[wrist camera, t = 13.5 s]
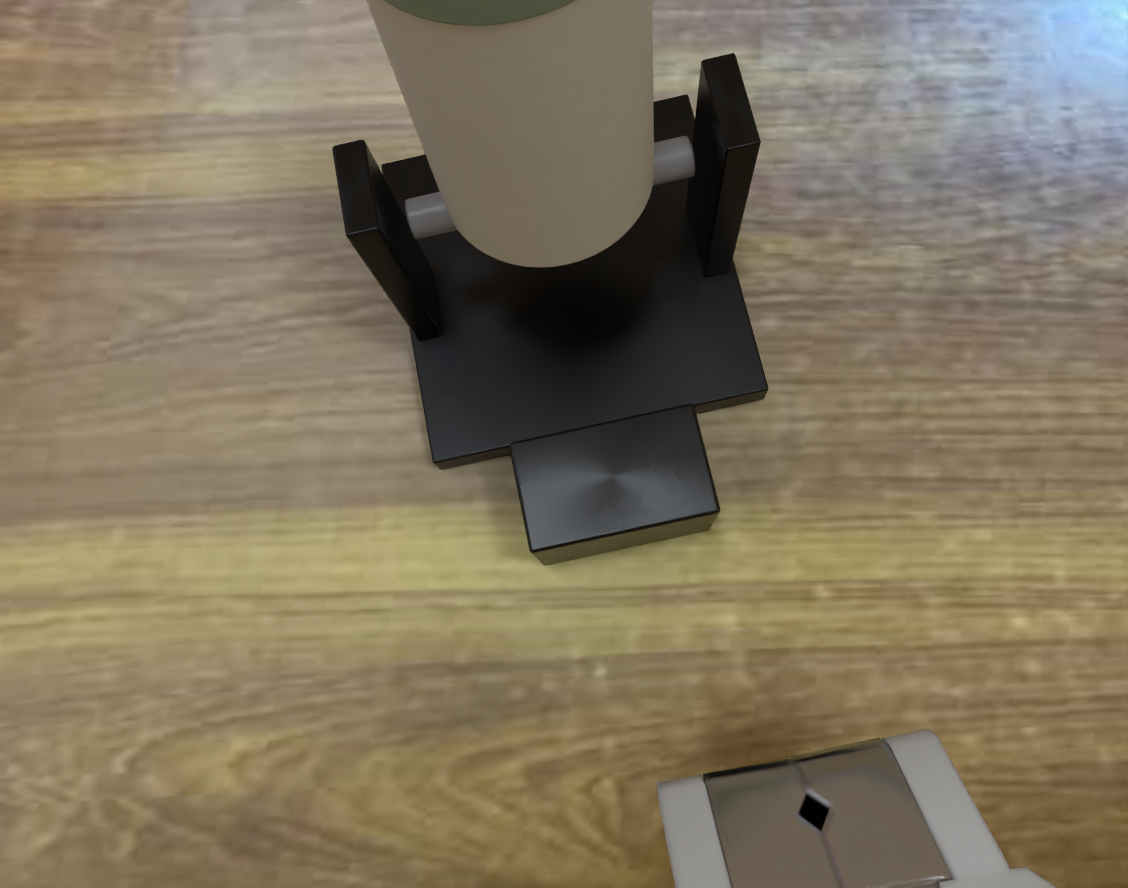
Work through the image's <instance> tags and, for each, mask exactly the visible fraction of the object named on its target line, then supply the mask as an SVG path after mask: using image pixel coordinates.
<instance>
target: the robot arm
mask: <svg viewBox="0 0 1128 888" xmlns="http://www.w3.org/2000/svg"><path fill="white" fill-rule="evenodd" d="M657 791H658V801H659V806H660V811H661V816H662V821H663V826H664V831H665V836H666V842H667V847H668V852H669V857H670V862H671V867H672V872H673V877H674V882H675V887H676V888H1057V887H1055V886H1054V885H1052V884H1051V883H1049V882H1048V881H1046V880H1045V879H1044V878H1042V877H1041V876H1039V875H1038V874H1036V873H1035V872H1033V871H1032V870H1030V869H1029V868H1028V867H1026V866H1023V867H1017V868H1010V866H1009V864H1008V863H1007V861H1006V859H1005V857H1004V855H1003V854H1002V852H1001V850H1000V848H999V846H998V845H997V843H996V841H995V839H994V837H993V835H992V834H991V832H990V830H989V828H988V826H987V825H986V823H985V821H984V819H983V817H982V816H981V814H980V812H979V810H978V808H977V806H976V805H975V803H974V801H973V799H972V797H971V796H970V794H969V792H968V790H967V788H966V787H965V785H964V783H963V781H962V779H961V777H960V776H959V774H958V772H957V770H956V768H955V767H954V765H953V763H952V761H951V759H950V758H949V756H948V754H947V752H946V750H945V748H944V747H943V745H942V743H941V741H940V739H939V738H938V736H937V735H935V734H934V733H933V732H932V731H931V730H930V729H923V730H919V731H914V732H910V733H905V734H901V735H896V736H891V737H887V738H883V739H880V738H874V739H870V740H865V741H861V742H856V743H851V744H847V745H842V746H837V747H833V748H828V749H824V750H819V751H814V752H810V753H805V754H801V755H796V756H791V759H785V760H779V761H774V762H768V763H762V764H757V765H751V766H745V767H740V768H734V769H728V770H723V771H717V772H711V773H706V774H703V777H702V774H699V775H694V776H689V777H684V778H679V779H673V780H668V781H663V782H658V783H657Z"/></svg>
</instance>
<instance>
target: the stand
mask: <svg viewBox="0 0 1128 888" xmlns="http://www.w3.org/2000/svg"><path fill="white" fill-rule="evenodd" d="M653 114H654V143H655V142H660V141H664V140H668V139H673V138H677V137H682V136H688V137H689V139H690V141H691V144H692V148H693V152H694V158H695V175H694V176H693V177H689V178H685V179H681V180H676V181H672V182H667V183H663V184H659V185H654V186H652V190H651V193H650V197H649V199H648V202H647V204H646V206H645V208H644V210H643V212H642V213H641V215H640V216H639V218H638V220H637V221H636V222H635V223H634V224H633V226H632V227H631V228H630V229H629V230H628V231H627V232H626V233H625V234H624V235H623V236H622V237H621V238H620V239H619V240H618V241H616V242H615V243H613V244H612V245H611V246H609V247H608V248H606V249H605V250H603V251H601V252H599V253H597V254H596V255H594V256H591V257H589V258H586V259H584V260H581V261H578V262H574V263H571V264H567V265H561V266H555V267H525V266H519V265H514V264H510V263H507V262H504V261H500V260H498V259H496V258H493V257H491V256H489V255H487V254H485V253H484V252H482V251H481V250H479V249H477V248H476V247H474V246H473V245H472V244H471V243H470V242H469V241H467V240H466V239H465V238H464V237H463V235H462V234H461V233H460V232H459V231H458V230H456V231H452V232H447V233H443V234H439V235H434V236H430V237H425V238H421V239H415V238H414V236H413V235H412V233H411V230H410V227H409V224H408V220H407V216H406V210H405V201H406V200H407V199H410V198H415V197H419V196H423V195H428V194H432V193H437V192H440V191H439V188H438V186H437V183H436V180H435V178H434V175H433V172H432V170H431V167H430V165H429V162H428V159H427V157H426V154H425V155H421V156H417V157H412V158H408V159H404V160H399V161H395V162H391V163H386V164H382V166H381V167H382V173H383V175H382V173H381V171H380V169H379V167H378V165H377V163H376V161H375V159H374V158H373V156H372V154H371V152H370V150H369V148H368V146H367V144H366V142H365V141H364V140H358V141H354V142H349V143H345V144H341V145H336V146H334V147H333V149H332V151H333V157H334V163H335V170H336V176H337V182H338V188H339V195H340V201H341V207H342V213H343V219H344V226H345V232H346V236H347V238H348V239H349V241H350V242H351V243H352V245H353V246H354V248H355V249H356V251H357V252H358V254H359V255H360V257H361V258H362V259H363V261H364V262H365V264H366V265H367V267H368V268H369V270H370V271H371V272H372V274H373V275H374V277H375V278H376V280H377V281H378V283H379V284H380V285H381V287H382V288H383V290H384V291H385V293H386V294H387V296H388V297H389V298H390V300H391V301H392V303H393V304H394V306H395V307H396V309H397V310H398V311H399V313H400V314H401V316H402V317H403V319H404V320H405V322H406V323H407V325H408V326H409V328H410V334H411V339H412V345H413V351H414V357H415V362H416V368H417V374H418V379H419V385H420V391H421V397H422V402H423V408H424V414H425V420H426V425H427V431H428V437H429V443H430V448H431V454H432V460H433V463H434V464H435V465H436V466H437V467H438V468H439V469H446V468H450V467H455V466H459V465H464V464H468V463H473V462H477V461H482V460H487V459H491V458H496V457H500V456H505V455H509V454H511V459H512V464H513V469H514V474H515V479H516V484H517V489H518V494H519V499H520V505H521V510H522V515H523V520H524V525H525V530H526V535H527V540H528V545H529V550H530V552H531V553H532V554H533V555H534V556H535V557H536V558H537V559H538V560H539V561H540V562H541V563H542V564H543V565H550V564H555V563H559V562H564V561H569V560H573V559H578V558H583V557H587V556H592V555H596V554H601V553H606V552H610V551H615V550H620V549H624V548H629V547H634V546H638V545H643V544H647V543H652V542H657V541H661V540H666V539H671V538H675V537H680V536H685V535H689V534H694V533H698V532H703V531H708V530H709V529H710V528H711V526H712V524H713V523H714V521H715V519H716V517H717V516H718V514H719V512H720V507H719V503H718V499H717V495H716V491H715V487H714V483H713V479H712V475H711V471H710V467H709V463H708V459H707V455H706V451H705V447H704V443H703V439H702V435H701V431H700V427H699V423H698V419H697V415H696V413H701V412H705V411H710V410H714V409H719V408H723V407H728V406H732V405H737V404H742V403H746V402H751V401H755V400H760V399H763V398H764V397H765V395H766V393H767V391H768V385H767V381H766V378H765V374H764V370H763V367H762V363H761V359H760V356H759V352H758V349H757V345H756V341H755V338H754V334H753V330H752V327H751V323H750V319H749V316H748V312H747V308H746V305H745V301H744V297H743V294H742V290H741V286H740V283H739V279H738V276H737V272H736V268H735V265H734V261H733V255H734V251H735V247H736V243H737V238H738V234H739V230H740V226H741V222H742V218H743V213H744V209H745V205H746V201H747V197H748V193H749V189H750V184H751V180H752V176H753V172H754V168H755V164H756V160H757V155H758V151H759V147H760V143H761V141H760V138H759V134H758V131H757V127H756V124H755V121H754V117H753V114H752V110H751V107H750V103H749V100H748V97H747V93H746V90H745V86H744V83H743V80H742V76H741V73H740V69H739V66H738V62H737V59H736V56H735V54H734V53H732V54H728V55H723V56H719V57H715V58H710V59H706V60H703V61H702V62H701V71H700V80H699V89H698V98H697V108H696V117H695V119H694V115H693V111H692V108H691V104H690V100H689V97H688V95H682V96H678V97H673V98H669V99H665V100H660V101H656V102H653Z"/></svg>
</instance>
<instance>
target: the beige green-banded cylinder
mask: <svg viewBox="0 0 1128 888" xmlns="http://www.w3.org/2000/svg"><path fill="white" fill-rule="evenodd" d="M366 1H367V3H368V6H369V8H370V11H371V14H372V16H373V19H374V21H375V24H376V27H377V29H378V32H379V34H380V37H381V40H382V42H383V45H384V48H385V50H386V53H387V55H388V58H389V61H390V63H391V66H392V68H393V71H394V74H395V76H396V79H397V81H398V84H399V87H400V89H401V92H402V94H403V97H404V100H405V102H406V105H407V107H408V110H409V113H410V115H411V118H412V120H413V123H414V126H415V128H416V131H417V133H418V136H419V139H420V141H421V144H422V146H423V149H424V152H425V154H426V157H427V159H428V162H429V165H430V167H431V170H432V172H433V175H434V178H435V180H436V183H437V186H438V188H439V191H440V192H437V193H432V194H428V195H423V196H419V197H415V198H410V199H407V200H406V201H405V210H406V216H407V220H408V224H409V227H410V230H411V233H412V235H413V236H414V238H415V239H421V238H425V237H430V236H434V235H439V234H443V233H447V232H452V231H456V230H458V231H459V232H460V233H461V234H462V235H463V237H464V238H465V239H466V240H467V241H469V242H470V243H471V244H472V245H473V246H474V247H476V248H477V249H479V250H481V251H482V252H484V253H485V254H487V255H489V256H491V257H493V258H496V259H498V260H500V261H504V262H507V263H510V264H514V265H519V266H525V267H555V266H561V265H567V264H571V263H574V262H578V261H581V260H584V259H586V258H589V257H591V256H594V255H596V254H597V253H599V252H601V251H603V250H605V249H606V248H608V247H609V246H611V245H612V244H613V243H615V242H616V241H618V240H619V239H620V238H621V237H622V236H623V235H624V234H625V233H626V232H627V231H628V230H629V229H630V228H631V227H632V226H633V224H634V223H635V222H636V221H637V220H638V218H639V216H640V215H641V213H642V212H643V210H644V208H645V206H646V204H647V202H648V199H649V197H650V193H651V190H652V186H654V185H659V184H663V183H667V182H672V181H676V180H681V179H685V178H689V177H693V176H694V175H695V158H694V152H693V148H692V144H691V141H690V139H689V137H688V136H682V137H677V138H673V139H668V140H664V141H660V142H655V143H654V114H653V31H652V0H366Z"/></svg>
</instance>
